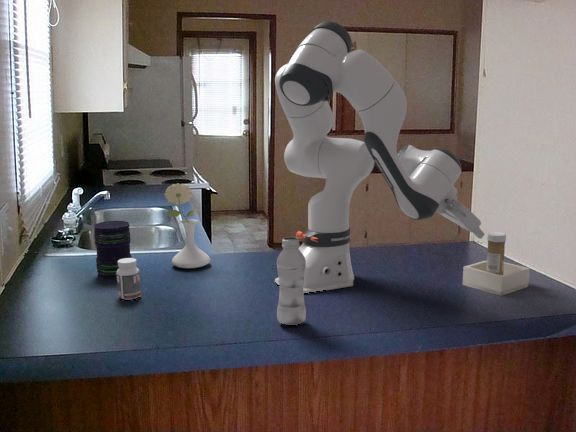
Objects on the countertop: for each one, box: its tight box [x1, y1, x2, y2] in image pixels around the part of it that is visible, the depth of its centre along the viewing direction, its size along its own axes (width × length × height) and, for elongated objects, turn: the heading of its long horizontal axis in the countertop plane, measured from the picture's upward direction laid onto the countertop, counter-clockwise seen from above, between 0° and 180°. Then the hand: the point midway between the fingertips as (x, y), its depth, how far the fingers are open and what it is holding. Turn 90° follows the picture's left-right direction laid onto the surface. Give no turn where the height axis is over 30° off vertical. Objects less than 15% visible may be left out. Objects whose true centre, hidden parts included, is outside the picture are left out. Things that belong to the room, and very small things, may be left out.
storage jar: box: [93, 220, 133, 281], centre depth 190 cm, size 10×10×15 cm
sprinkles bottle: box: [486, 231, 507, 275], centre depth 176 cm, size 5×5×14 cm
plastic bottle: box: [276, 236, 307, 326], centre depth 151 cm, size 6×7×20 cm
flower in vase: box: [163, 182, 211, 269], centre depth 198 cm, size 13×11×25 cm
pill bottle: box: [116, 257, 142, 299], centre depth 171 cm, size 6×6×10 cm
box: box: [462, 259, 531, 297], centre depth 178 cm, size 12×12×5 cm
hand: (474, 231), depth 176 cm, fingers open, 8 cm apart
